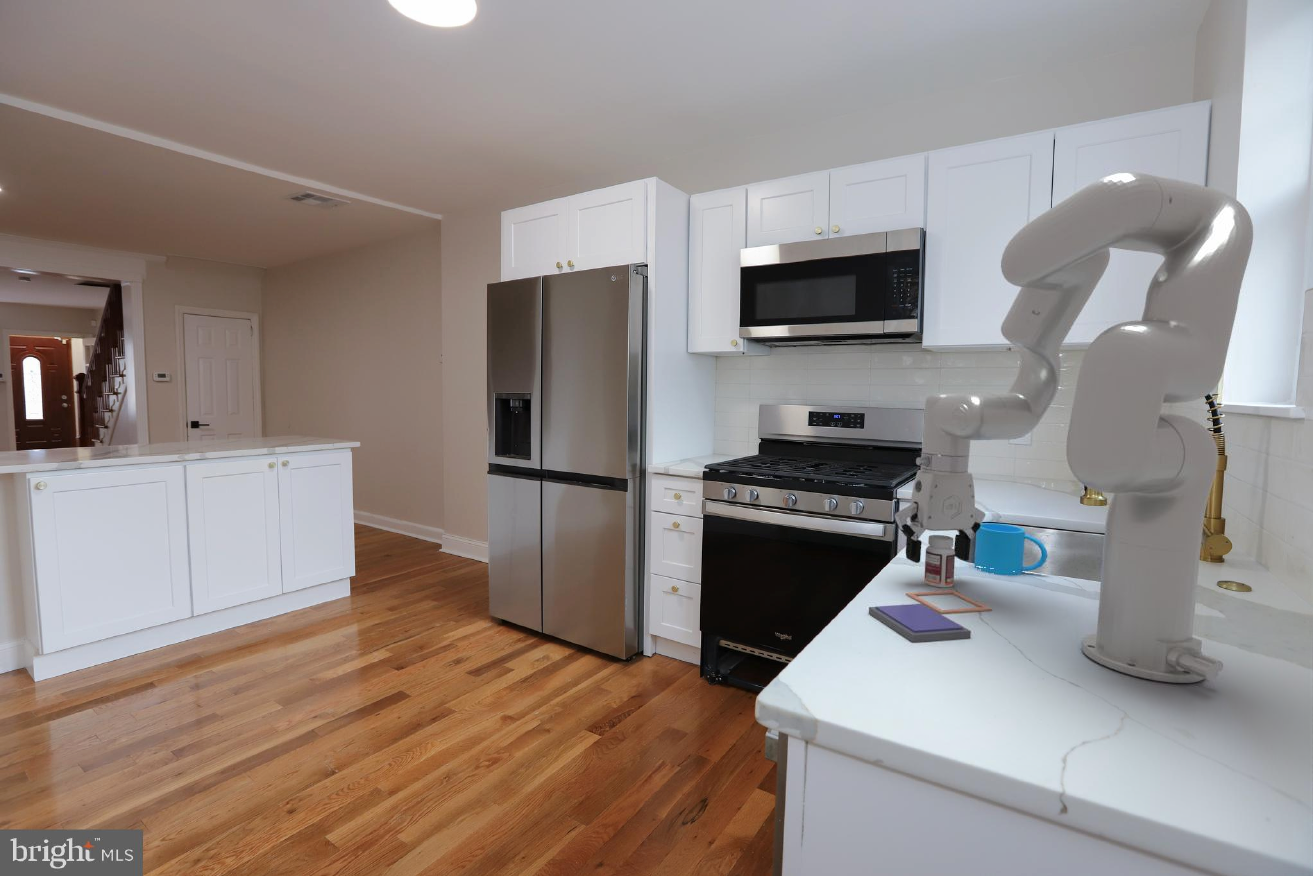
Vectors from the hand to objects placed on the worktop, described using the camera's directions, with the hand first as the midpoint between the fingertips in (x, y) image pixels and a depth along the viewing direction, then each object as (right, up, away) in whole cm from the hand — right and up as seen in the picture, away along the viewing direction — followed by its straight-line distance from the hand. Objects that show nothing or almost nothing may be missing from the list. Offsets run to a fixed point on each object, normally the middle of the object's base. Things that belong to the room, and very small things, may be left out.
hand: (937, 559), depth 112 cm
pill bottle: (0, -5, 0) cm, 4 cm away
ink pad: (-12, -6, -20) cm, 24 cm away
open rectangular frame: (-3, -5, -10) cm, 12 cm away
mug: (+18, -4, +9) cm, 20 cm away
